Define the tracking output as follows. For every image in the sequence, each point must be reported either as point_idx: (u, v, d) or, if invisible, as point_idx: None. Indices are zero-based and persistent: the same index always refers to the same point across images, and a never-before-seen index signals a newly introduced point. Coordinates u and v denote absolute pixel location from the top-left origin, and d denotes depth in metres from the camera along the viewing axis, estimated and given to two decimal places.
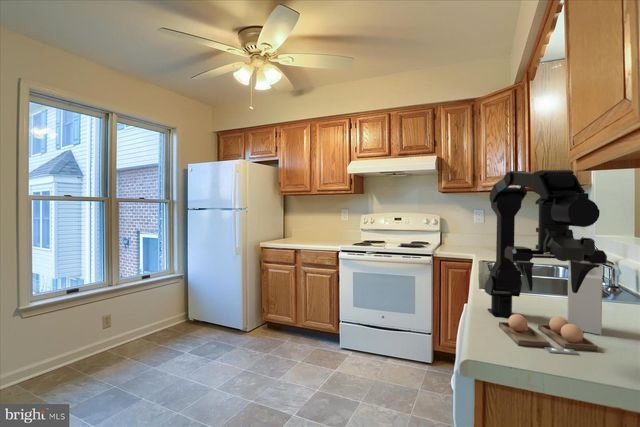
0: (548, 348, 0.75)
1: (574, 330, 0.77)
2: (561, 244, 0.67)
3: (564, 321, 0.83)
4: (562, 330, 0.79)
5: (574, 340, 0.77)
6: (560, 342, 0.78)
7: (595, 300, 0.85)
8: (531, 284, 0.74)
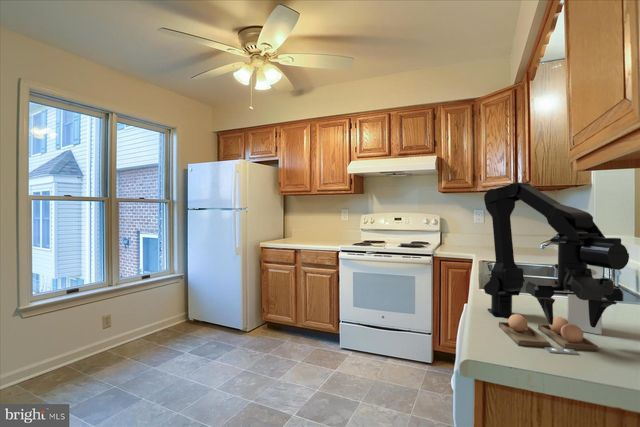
0: (548, 348, 0.75)
1: (574, 330, 0.77)
2: (581, 284, 0.72)
3: (564, 321, 0.83)
4: (562, 330, 0.79)
5: (574, 340, 0.77)
6: (560, 342, 0.78)
7: None
8: (552, 318, 0.79)
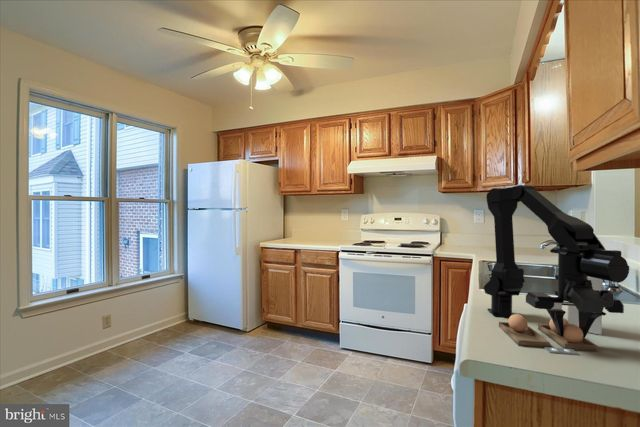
0: (548, 348, 0.75)
1: (574, 330, 0.77)
2: (582, 296, 0.72)
3: (564, 321, 0.83)
4: None
5: (574, 340, 0.77)
6: (560, 342, 0.78)
7: None
8: (562, 330, 0.78)
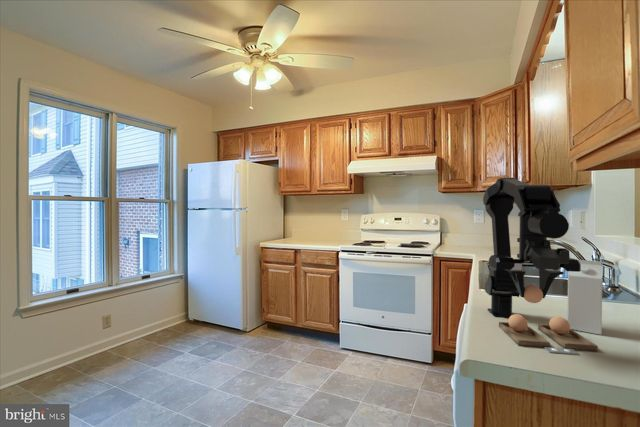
0: (548, 348, 0.75)
1: (534, 290, 0.78)
2: (539, 254, 0.73)
3: (564, 321, 0.83)
4: None
5: (534, 300, 0.78)
6: (560, 342, 0.78)
7: (595, 300, 0.85)
8: (523, 291, 0.80)
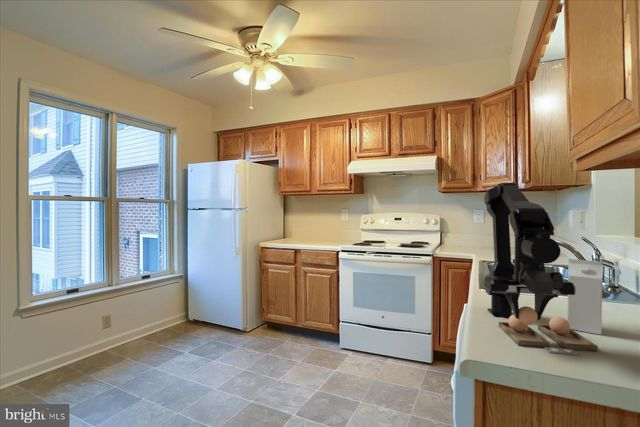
0: (548, 348, 0.75)
1: (529, 312, 0.79)
2: (533, 278, 0.74)
3: (564, 321, 0.83)
4: None
5: (528, 322, 0.79)
6: (560, 342, 0.78)
7: (595, 300, 0.85)
8: (517, 312, 0.80)
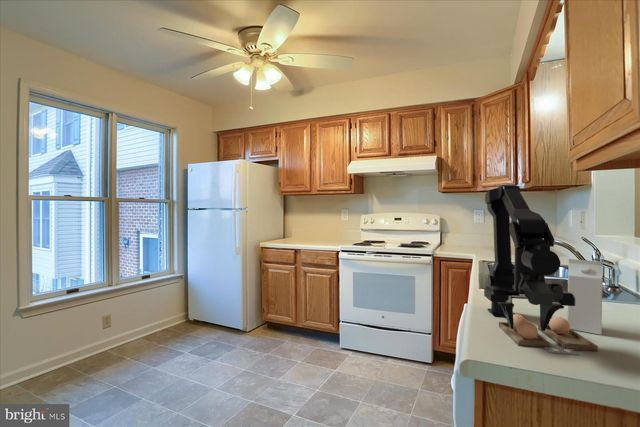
0: (548, 348, 0.75)
1: (529, 328, 0.79)
2: (533, 289, 0.74)
3: (564, 321, 0.83)
4: (518, 327, 0.81)
5: (528, 337, 0.79)
6: (560, 342, 0.78)
7: (595, 300, 0.85)
8: (512, 323, 0.80)
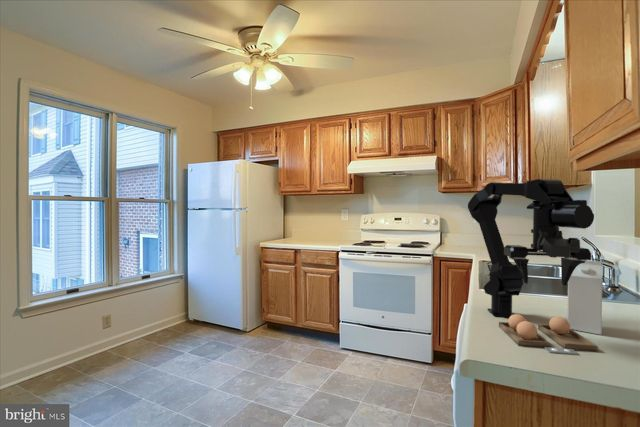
0: (548, 348, 0.75)
1: (528, 328, 0.79)
2: (551, 243, 0.79)
3: (564, 321, 0.83)
4: (517, 328, 0.81)
5: (528, 337, 0.79)
6: (560, 342, 0.78)
7: (595, 300, 0.85)
8: (527, 278, 0.86)
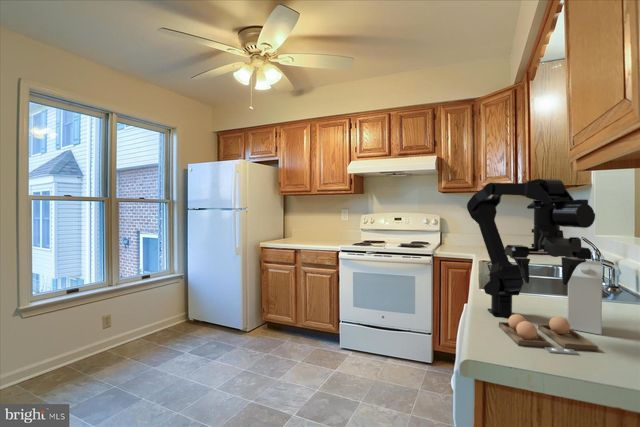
0: (548, 348, 0.75)
1: (528, 328, 0.79)
2: (553, 243, 0.79)
3: (564, 321, 0.83)
4: (517, 328, 0.81)
5: (528, 337, 0.79)
6: (560, 342, 0.78)
7: (595, 300, 0.85)
8: (528, 277, 0.86)
